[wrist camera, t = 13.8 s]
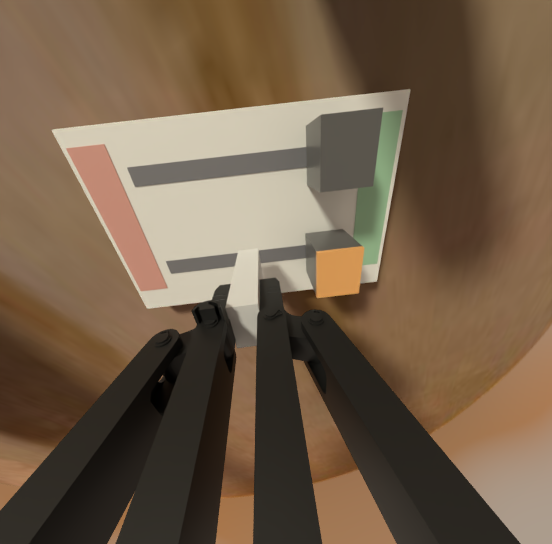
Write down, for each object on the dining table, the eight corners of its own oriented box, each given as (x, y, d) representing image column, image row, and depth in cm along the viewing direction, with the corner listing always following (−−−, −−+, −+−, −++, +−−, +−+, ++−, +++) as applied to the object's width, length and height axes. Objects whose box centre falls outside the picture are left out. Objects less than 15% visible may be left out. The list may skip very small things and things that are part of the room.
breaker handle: (306, 271, 18) (317, 298, 14) (305, 233, 16) (317, 253, 13) (340, 267, 18) (358, 293, 14) (342, 229, 16) (364, 247, 13)
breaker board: (156, 296, 21) (123, 340, 16) (77, 133, 14) (-28, 118, 9) (367, 271, 21) (400, 307, 16) (392, 97, 14) (465, 63, 9)
